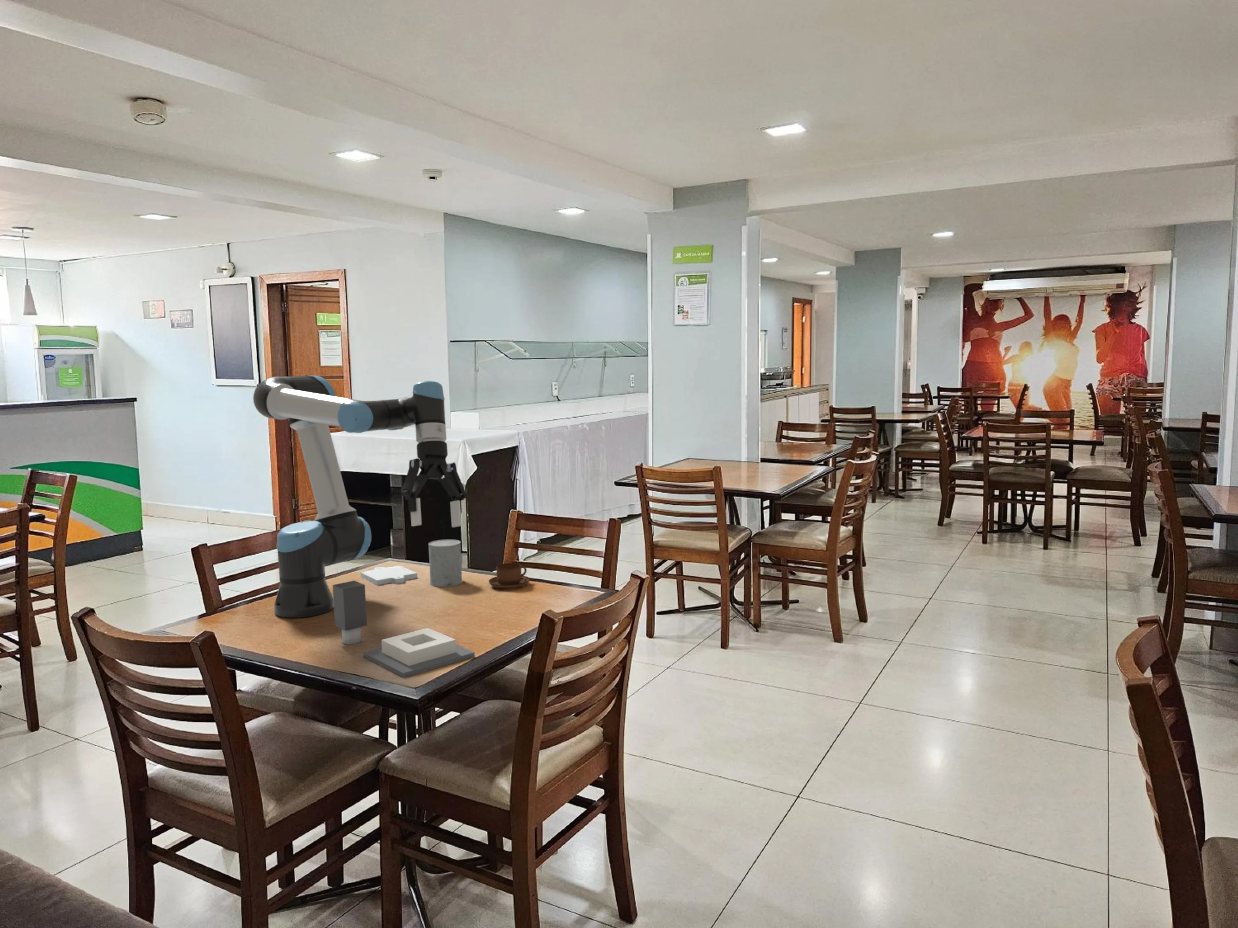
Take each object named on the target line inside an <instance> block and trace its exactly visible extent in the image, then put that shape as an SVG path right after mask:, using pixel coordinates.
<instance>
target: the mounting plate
mask: <svg viewBox="0 0 1238 928" xmlns="http://www.w3.org/2000/svg"><path fill="white" fill-rule="evenodd" d="M360 578H362V579H365V580H366V581H368V582H370V583H372V584H374V585H376V586H381V585H386V584H397V585H398V584H404V583H405V581H407V580H414V579H418V573H417V572H416V571H413V570H411V569H410V568H406V567H404V566H402V565H394V566H390V567H387V566H386V567H383V566H377V567H373V569H370V570H365V571H361V572H360Z"/></svg>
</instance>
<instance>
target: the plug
mask: <svg viewBox="0 0 1238 928" xmlns="http://www.w3.org/2000/svg"><path fill="white" fill-rule="evenodd" d="M332 597H333V601H334V607H333V615H334V626H336V627H337V628H340V629H341V642H342V644H343V645H348V646H349V645H356V644H359V643H360V642H361V643H362V627H365V626H368V617H367V604H366V603H367V599H366V598H367V597H366V585H365V584H364V583H362V582H358V581H356V580H350V581H347V582H346V581H345V582H341V583H336V584H332Z"/></svg>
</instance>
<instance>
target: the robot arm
mask: <svg viewBox="0 0 1238 928" xmlns="http://www.w3.org/2000/svg"><path fill="white" fill-rule="evenodd" d="M252 396H253V398H252V399H253V401H252V402H253V404H254V407H255V409H256V411H258V413H259V414H260V415H262V416H264V417H266V418H268V419H274V420H281V421H283V420H284V421H285V420H288V424H289V427H290V428H291V429H293V430H294V431H296V433H297V436H298V439H299V444H300V447H301V452H302V455H303V459H304V463H305V467H306V471H307V475H308V479H309V483H310V487H311V490H312V494H313V499H314V502H315V506H316V509H317V510H316V511H317V515H316V516H315V517H314V520H306V521H302V522H295V523H291V524H288V525H286V526H284V527H282V528H281V529H280V530H279V531H278V533H277V535H276V541H277V542H276V550H277V559H278V560H277V562H278V575H279V587H278V590H277V594H276V598H275V600H274V615H276V616H278V617H282V618H290V619H291V618H293V619H295V618H306V617H314V616H319V615H323V614H325V613H327V612H330V611H331V610H334V600H333V593H332V592H331V590H330V588H329V585H328V582H327V581H326V568H325V567H330V566H333V565H337V564H340V563H345V562H350V561H353V560H355V559H358V558H361V557H362V556H364V555H365V554H366V552H368V549H369V547H370V545H371V542H372V531H371V527H370V525H369V523H368V522H367V521H366V519H365V518H363V517H361V516H358V513H357V512H358V511H357V509H355V508H354V507H352V506H351V505H350V504H349V500H348V496H347V493H346V488H345V485H344V481H343V477H342V473H341V469H340V466H339V461H338V458H337V453H336V450H335V446H334V441H333V438H332V434H331V430H330V426H332V427H333V426H334V427H338V428H341V429H343V431H344V432H345V433H350V434H352V433H353V434H355V433H356V434H361V433H364V432H374V431H383V430H385V431H386V430H388V431H397V430H403V429H405V428H407V427H411V426H414V425H415V440H416V441H415V442H417V444H416V457H417V458H413V459H410V460H408V461H409V463H408V470H407V474H406V476H405V480H404V482H403V485H402V489H401V491H400V496H401V497H404V499H405V500H407V502H408V503H407V504H408V512H410V521H411V525H410V526H411V527H416V526H421V525H422V524H423V523H422V511H421V510H422V509H421V497H418V496H419V494H420V493H421V491H422V489H423V487H424V486H425V484H426V483H427V481H428V480H430V479H432V480H434V481H435V480H436V481H438V482H439V483H440V484H441V485H442V487H443V488H444V490H445V491H446V493H447V495H448V496H449V497H450V499H451V500H452V501H450V502H449V504H450V505H449V506H450V518H451V519H450V520H451V528H457V527H462V512H463V511H462V510H463V506H462V501H464V500H465V499H467V497H468V494H467V492H466V490H465V487H464V485H463V483H462V480H461V478H460V475H459V473H458V469H457V464H456V462H455V461H454V462H450V463H449V462H448V463H447V460H446V459H447V457H448V455H449V454H448V443H447V442H446V441H447V428H446V412H445V411H446V409H445V400H446V399H445V396H444V390H443V385H442V383H440V382H437V381H433V380H425V381H419V382H416V383H415V384H413V387H412V394H410V395H408V396H405V397H401V398H395V399H393V398H392V399H378V400H367V401H366V400H360V399H359V400H358V399H353V398H347V397H341V396H336V392H335V389H334V387H333V386H332V384H331V383H330V382H329V381H328V380H327V379H325V378H323V376H322V377H321V376H319V375H310V374H306V375H292V376H272V377H268V378H266V379H264V380H262V381H261V382H260V383H258V385H257V386H256V388H255V390H254V392H253V395H252Z"/></svg>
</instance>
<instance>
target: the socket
mask: <svg viewBox="0 0 1238 928" xmlns="http://www.w3.org/2000/svg"><path fill="white" fill-rule="evenodd" d="M456 640H457V639H455V638H452V637H450V636H448V635H445V634H443V633H441V632H439V631H436V630H433V629H431V628H428V627H426V628H422V629H418V630H415V631H411V632H406V633H403V634H399V635H396V636H392V637H391V636H390V637H387V638H384V639H381V648H377V649H373V650H369V651H365V652H363V658H365V659H367V660H369V661H371V662H372V663H375V664H377V665H378V666H381V667H383V668H384V669H386V670H388V671H390V672H392V673H394V674H396V675H397V676H399V677H401V678H407V677H411V676H414V675H417V674H420V673H424V672H427V671H431V670H434V669H437V668H442V667H444V666H447V665H451V664H454V663H457V662H460V661H464V660H467V659H471V658H474V657H476V656H475V653H476V652H475V651H473V650H470V649H468V648H466V647H463V646H461V645H459V644H457V641H456Z"/></svg>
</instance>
